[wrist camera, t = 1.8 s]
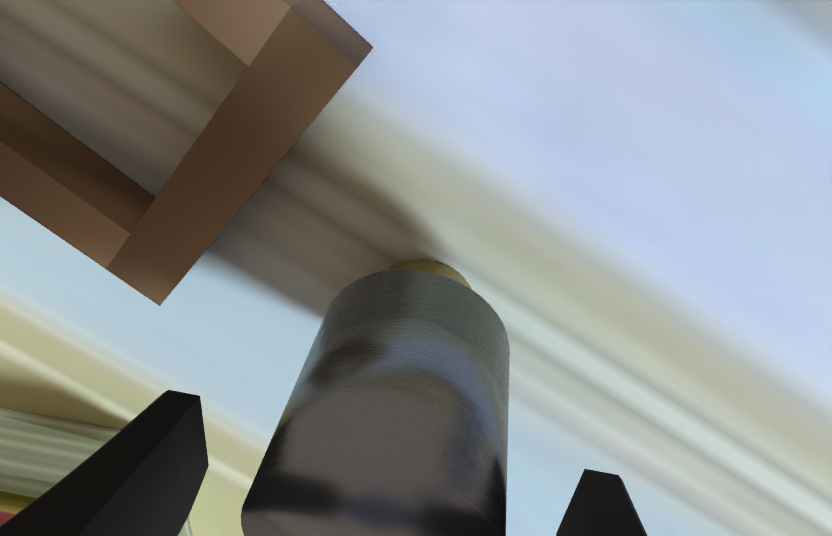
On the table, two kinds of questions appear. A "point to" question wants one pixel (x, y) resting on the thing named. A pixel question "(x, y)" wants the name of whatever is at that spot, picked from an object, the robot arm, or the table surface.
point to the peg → (393, 417)
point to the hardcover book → (43, 456)
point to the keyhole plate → (206, 160)
